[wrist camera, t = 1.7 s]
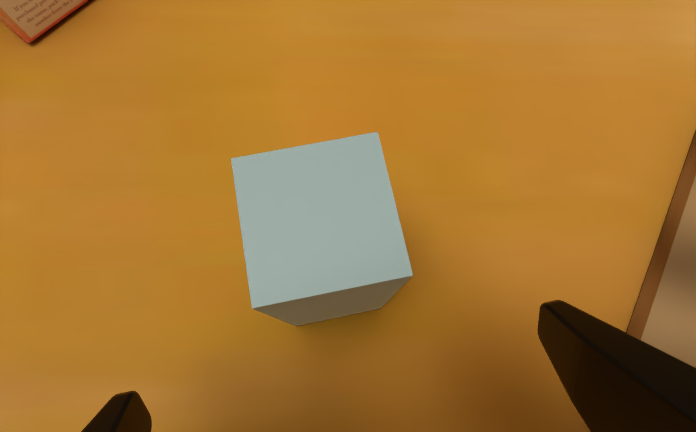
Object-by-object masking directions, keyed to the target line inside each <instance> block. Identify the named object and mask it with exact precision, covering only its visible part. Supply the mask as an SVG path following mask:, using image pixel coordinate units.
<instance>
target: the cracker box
mask: <svg viewBox="0 0 696 432" xmlns="http://www.w3.org/2000/svg"><path fill="white" fill-rule="evenodd" d="M87 1H89V0H0V20H1V21H2V22H3V23H4V24H5V25H6V26H7V27H8V28H10V29H11V30H12V31H13V32H14V33H15V34H16V35H17V36H19V37H20V38H21V39H22V40H23V41H24V42H26V43H28V44H29V43H31V42H32V41H34V40H35V39H36V38H38V37H39V36H40V35H42V34H43V33H44V32H46V31H47V30H49V29H50V28H51V27H53V26H54V25H56V24H57V23H58V22H60V21H61V20H63V19H64V18H65V17H67V16H68V15H69V14H71V13H72V12H73V11H75V10H76V9H78V8H79V7H80V6H82V5H83V4H84V3H86V2H87Z"/></svg>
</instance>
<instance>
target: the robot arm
mask: <svg viewBox="0 0 696 432" xmlns="http://www.w3.org/2000/svg"><path fill="white" fill-rule="evenodd" d="M538 335H539V339H540V341H541V343H542V345H543V347H544V349H545V351H546V353H547V355H548V357H549V359H550V360H551V362H552V364H553V366H554V368H555V370H556V372H557V374H558V376H559V378H560V380H561V382H562V384H563V386H564V388H565V390H566V392H567V394H568V395H569V397H570V399H571V401H572V403H573V404H574V406H575V407H576V409H577V411H578V412H579V414H580V415H581V417H582V418H583V420H584V422H585V423H586V425H587V426H588V428H589V429H590V431H591V432H696V368H695V367H693V366H691V365H689V364H687V363H685V362H683V361H681V360H679V359H677V358H675V357H673V356H671V355H669V354H667V353H665V352H663V351H661V350H660V349H658V348H656V347H654V346H652V345H650V344H648V343H646V342H644V341H642V340H640V339H638V338H636V337H634V336H632V335H630V334H628V333H626V332H624V331H622V330H620V329H618V328H616V327H614V326H612V325H610V324H608V323H606V322H604V321H602V320H600V319H598V318H596V317H594V316H592V315H590V314H588V313H586V312H584V311H582V310H580V309H578V308H576V307H574V306H572V305H570V304H568V303H566V302H564V301H561V300H555V301H550V302H545V303H543V304H542V305H541V306H540V312H539V321H538ZM151 427H152V421H151V416H150V413H149V411H148V410H147V408H146V406H145V404H144V403H143V401H142V399H141V397H140V395H139V394H138V393H137V392H136V391H129V392H124V393H120V394H116V395H115V396H113V397H112V398H111V399H110V400H109V401H108V402H107V404H106V405H105V406H104V407H103V408H102V409H101V410H100V411H99V412H98V414H97V415H96V416H95V417H94V418H93V419H92V420H91V421H90V423H89V424H88V425H87V426H86V427H85V428H84V429H83V430H82V431H81V432H151Z"/></svg>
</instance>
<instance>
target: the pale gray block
mask: <svg viewBox="0 0 696 432" xmlns="http://www.w3.org/2000/svg"><path fill="white" fill-rule="evenodd" d="M231 161H232V168H233V175H234V182H235V190H236V197H237V204H238V211H239V218H240V226H241V233H242V240H243V247H244V254H245V261H246V269H247V276H248V283H249V290H250V297H251V305H252V309H255V310H257V311H260V312H262V313H265V314H267V315H270V316H272V317H275V318H277V319H280V320H282V321H285V322H287V323H290V324H292V325H295V326H299V325H304V324H309V323H314V322H319V321H323V320H328V319H333V318H338V317H343V316H347V315H352V314H357V313H362V312H367V311H371V310H376V309H381V308H382V307H383V306H384V305H385V304H386V303H387V302H388V301H389V300H390V299H391V298H392V297H393V296H394V295H395V293H396V292H397V291H398V290H399V289H400V288H401V287H402V286H403V285H404V284H405V283H406V282H407V281H408V280H409V279H410V278H411V277H412V276H413V273H412V269H411V265H410V261H409V257H408V253H407V249H406V245H405V241H404V237H403V233H402V229H401V225H400V220H399V216H398V212H397V208H396V204H395V200H394V196H393V192H392V188H391V184H390V180H389V176H388V172H387V168H386V164H385V160H384V156H383V152H382V148H381V144H380V140H379V136H378V132H374V133H369V134H363V135H358V136H352V137H347V138H341V139H336V140H330V141H325V142H319V143H314V144H308V145H303V146H297V147H292V148H286V149H281V150H275V151H270V152H264V153H259V154H253V155H248V156H242V157H237V158H231Z"/></svg>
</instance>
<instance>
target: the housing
mask: <svg viewBox="0 0 696 432" xmlns="http://www.w3.org/2000/svg"><path fill="white" fill-rule="evenodd" d="M626 333H628V334H630V335H632V336H634V337H636V338H638V339H640V340H642V341H644V342H646V343H648V344H650V345H652V346H654V347H656V348H658V349H660V350H661V351H663V352H665V353H667V354H669V355H671V356H673V357H675V358H677V359H679V360H681V361H683V362H685V363H687V364H689V365H691V366H693V367H695V368H696V132H695V135H694V138H693V141H692V143H691V146H690V149H689V152H688V155H687V158H686V161H685V164H684V167H683V170H682V173H681V175H680V178H679V181H678V184H677V187H676V190H675V193H674V196H673V199H672V202H671V204H670V207H669V210H668V213H667V216H666V219H665V222H664V225H663V228H662V231H661V234H660V236H659V239H658V242H657V245H656V248H655V251H654V254H653V257H652V260H651V263H650V265H649V268H648V271H647V274H646V277H645V280H644V283H643V286H642V289H641V292H640V295H639V297H638V300H637V303H636V306H635V309H634V312H633V315H632V318H631V321H630V324H629V326H628V329H627V332H626Z"/></svg>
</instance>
